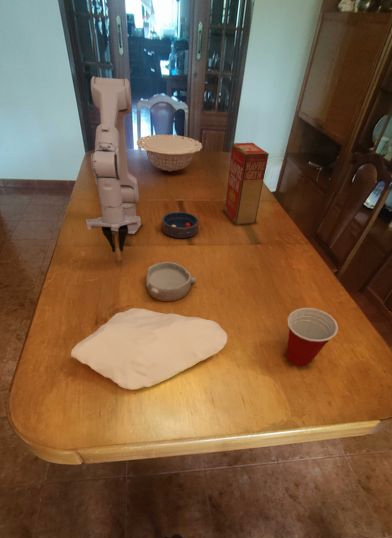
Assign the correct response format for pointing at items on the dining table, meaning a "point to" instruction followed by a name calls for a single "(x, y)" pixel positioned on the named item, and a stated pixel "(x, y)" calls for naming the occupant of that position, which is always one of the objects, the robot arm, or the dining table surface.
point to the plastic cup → (308, 334)
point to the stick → (117, 245)
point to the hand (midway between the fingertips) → (117, 249)
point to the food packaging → (245, 182)
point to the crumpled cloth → (148, 346)
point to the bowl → (180, 224)
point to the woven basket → (169, 150)
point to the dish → (168, 281)
